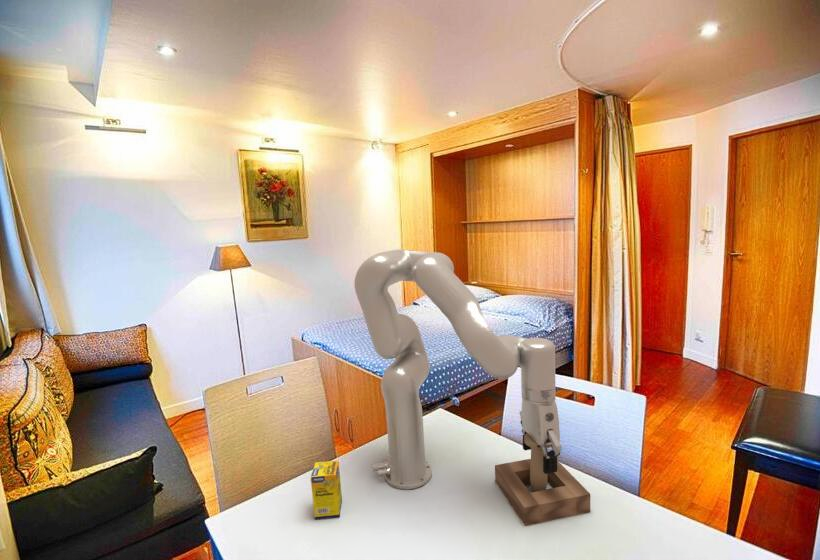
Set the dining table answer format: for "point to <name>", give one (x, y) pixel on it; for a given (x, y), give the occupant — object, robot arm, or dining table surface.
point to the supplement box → (326, 490)
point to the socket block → (541, 493)
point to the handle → (536, 464)
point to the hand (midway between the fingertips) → (539, 460)
